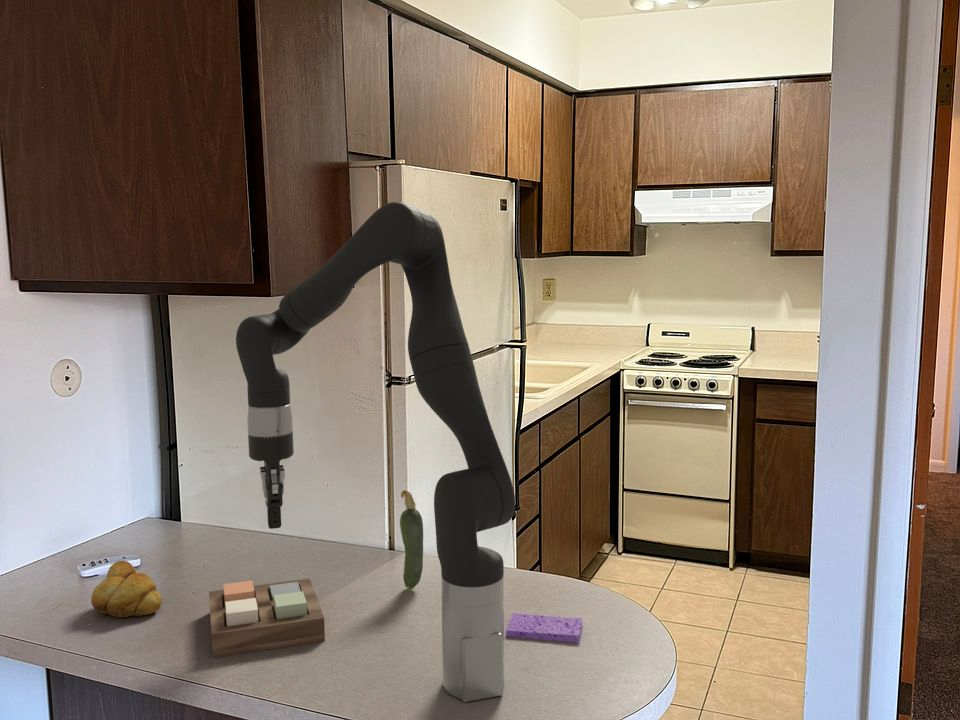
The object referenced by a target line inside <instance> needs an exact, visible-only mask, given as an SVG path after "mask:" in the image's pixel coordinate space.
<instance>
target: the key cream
mask: <svg viewBox="0 0 960 720" xmlns="http://www.w3.org/2000/svg"><path fill="white" fill-rule="evenodd" d="M225 607H226V623H227V626H234V625H241V624H248V623H255V622H258V608H257V602H256V598H251V599H243V600H236V601H228V602H225Z"/></svg>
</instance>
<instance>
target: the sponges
mask: <svg viewBox="0 0 960 720" xmlns="http://www.w3.org/2000/svg"><path fill="white" fill-rule="evenodd" d="M581 628H583V617H572V616H566V617H565V616H563V617H561V616H556V615H546V614H545V615H544V614H536V613H535V614H533V613H523V612H511V615H510V619H509V622H508V625H507V628H506V631H505V637H507V636H510V637H511V636H512V637H511V638H519V637H521V638H520V639H530V638H534V639H533V640H540V639H546V640H545V641H551V640H557V641H556V642H561V641H568V642H567V643H571V642H578V643H577V644H579V643H580V640H579V639H581V635H580V634H581V633H582V629H581Z"/></svg>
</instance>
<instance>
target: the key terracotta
mask: <svg viewBox="0 0 960 720" xmlns="http://www.w3.org/2000/svg"><path fill="white" fill-rule="evenodd" d="M253 582H254V581H253V580H246V581H237V582H230V583H223V585H222V586H223V590H224V603H225V602H228V601H236V600H243V599H251V598H255V594H254V586H255V585H254V583H253Z"/></svg>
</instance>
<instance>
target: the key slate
mask: <svg viewBox="0 0 960 720" xmlns="http://www.w3.org/2000/svg"><path fill="white" fill-rule="evenodd" d="M295 592H301V590H300V587H299V584H298V582H293V583H285V584H277V585H270V601H273V600H274V595H280V594H287V593H295Z"/></svg>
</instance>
